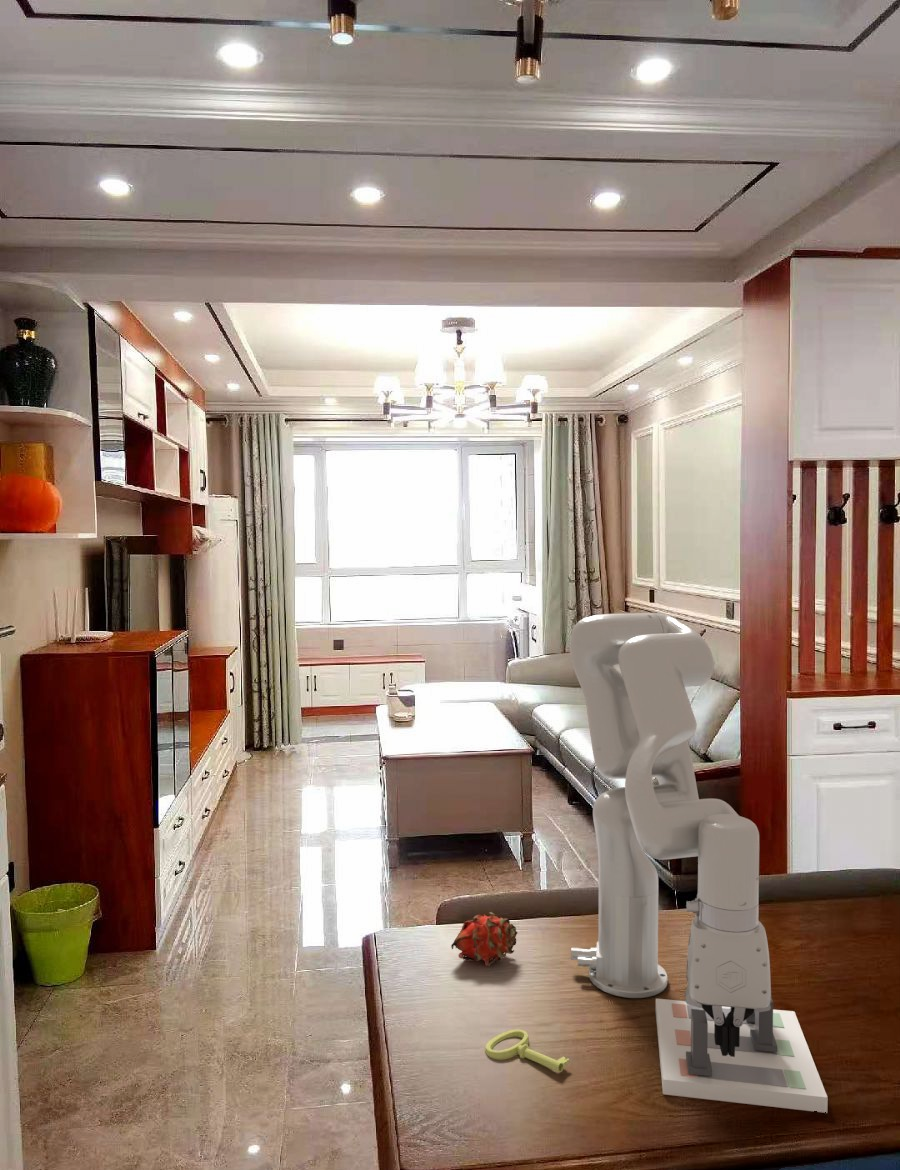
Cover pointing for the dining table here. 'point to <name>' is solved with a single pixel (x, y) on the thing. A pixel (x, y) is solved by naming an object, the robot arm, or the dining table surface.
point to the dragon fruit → (486, 939)
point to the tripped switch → (699, 1045)
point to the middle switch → (764, 1031)
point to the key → (522, 1051)
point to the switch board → (740, 1063)
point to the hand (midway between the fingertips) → (726, 1050)
